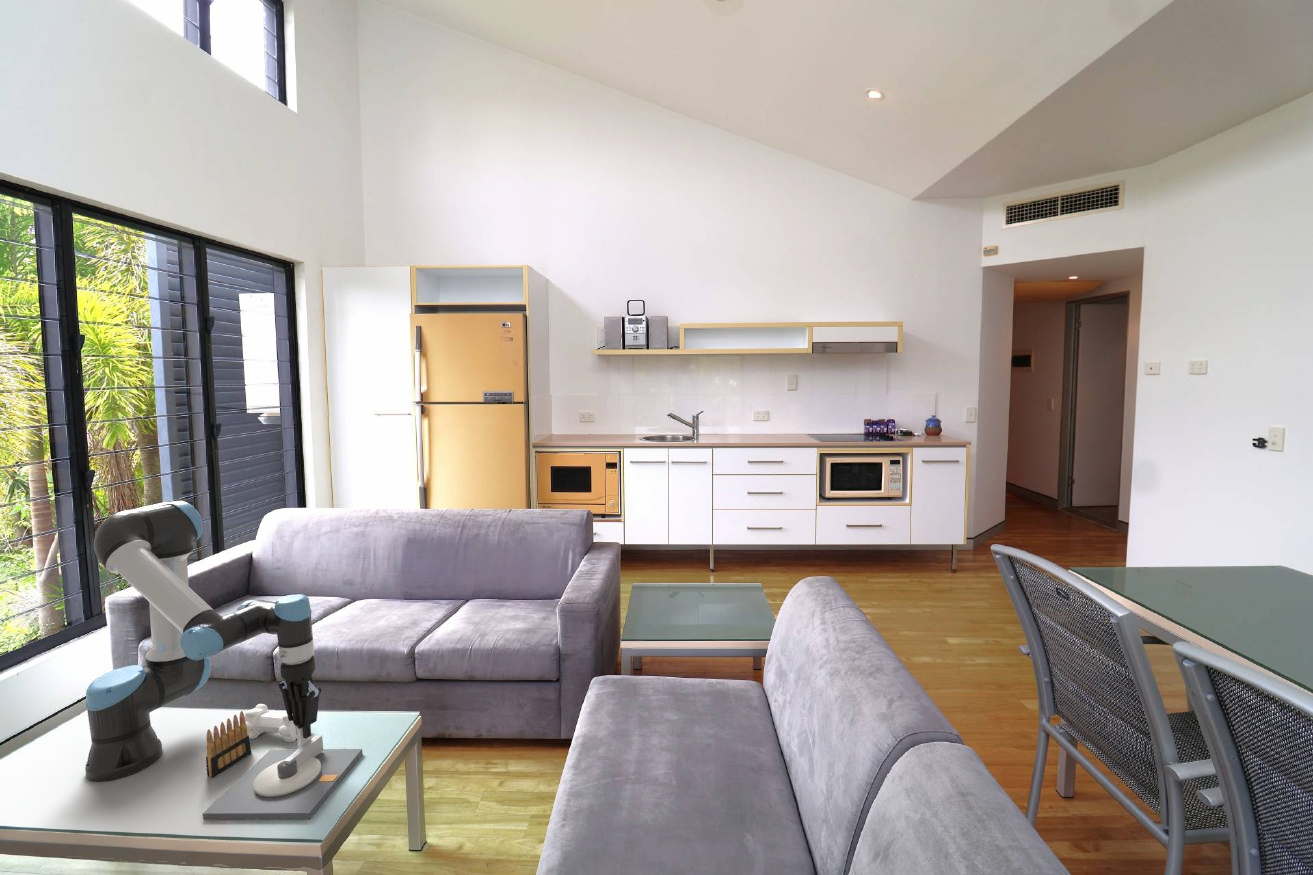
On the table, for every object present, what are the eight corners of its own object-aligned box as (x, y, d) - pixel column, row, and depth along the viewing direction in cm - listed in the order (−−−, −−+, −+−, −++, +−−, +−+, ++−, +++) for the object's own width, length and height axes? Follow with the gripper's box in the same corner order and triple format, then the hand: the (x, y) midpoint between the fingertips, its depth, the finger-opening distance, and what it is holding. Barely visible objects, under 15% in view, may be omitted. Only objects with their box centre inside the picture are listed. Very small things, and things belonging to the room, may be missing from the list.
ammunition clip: (212, 778, 157) (207, 731, 156) (207, 777, 158) (201, 730, 157) (251, 753, 168) (247, 709, 166) (246, 752, 168) (241, 708, 167)
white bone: (311, 732, 178) (310, 703, 178) (287, 747, 169) (286, 717, 169) (264, 728, 181) (264, 699, 181) (238, 742, 172) (238, 712, 172)
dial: (291, 799, 146) (289, 782, 145) (238, 793, 149) (237, 776, 148) (344, 753, 163) (343, 737, 163) (296, 748, 166) (295, 732, 166)
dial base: (203, 819, 143) (202, 812, 142) (271, 754, 166) (270, 748, 166) (309, 819, 142) (309, 812, 142) (362, 754, 166) (362, 748, 165)
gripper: (265, 660, 159) (273, 750, 161) (300, 669, 153) (308, 763, 156) (293, 648, 165) (301, 735, 168) (328, 656, 160) (335, 746, 162)
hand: (304, 748), depth 162 cm, fingers closed
